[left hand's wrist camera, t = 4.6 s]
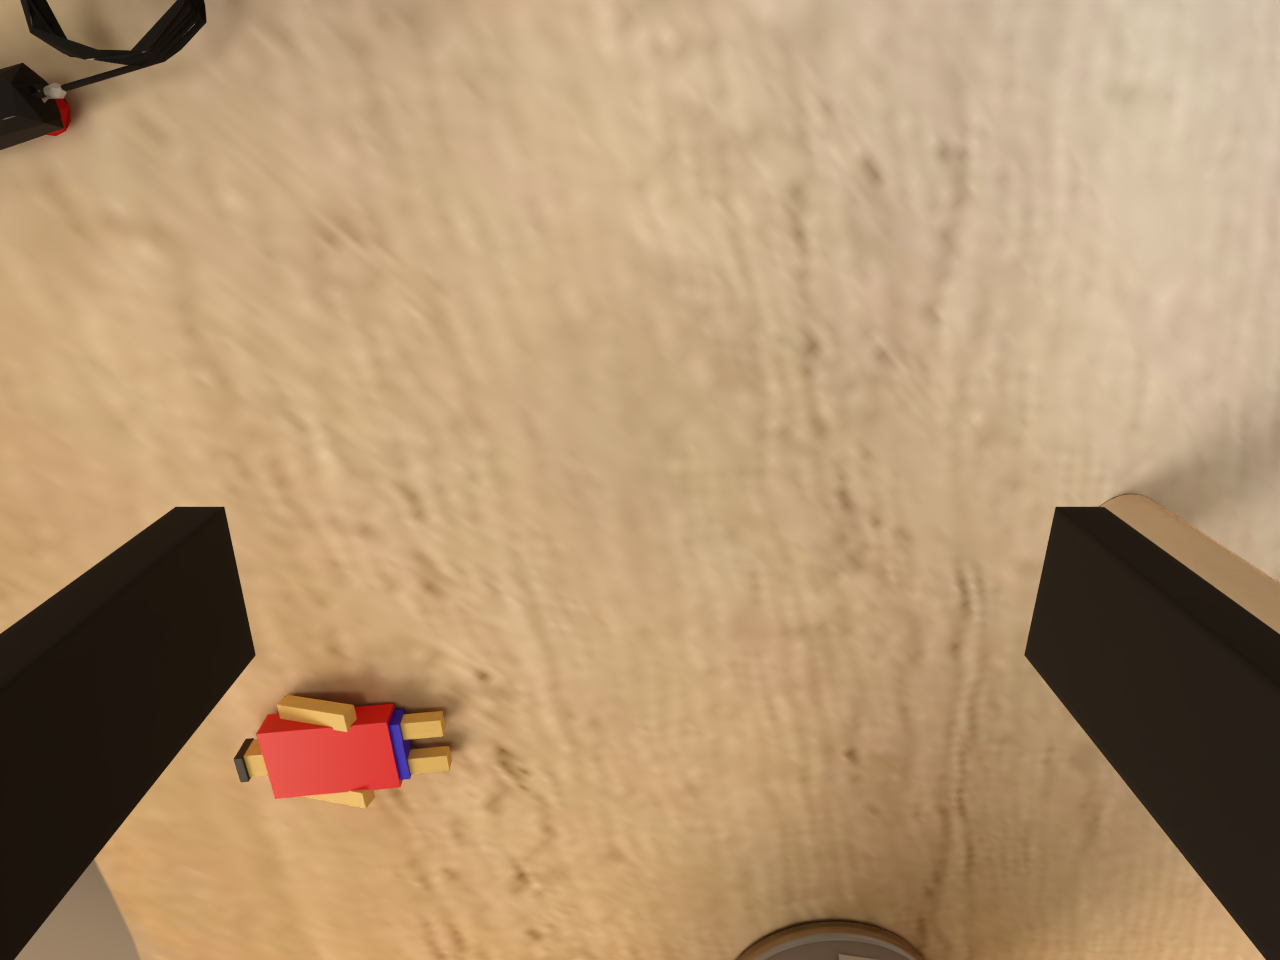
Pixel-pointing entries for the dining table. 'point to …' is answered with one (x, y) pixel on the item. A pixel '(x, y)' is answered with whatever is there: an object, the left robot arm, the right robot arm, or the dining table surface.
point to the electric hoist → (30, 107)
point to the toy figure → (340, 750)
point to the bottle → (1202, 556)
